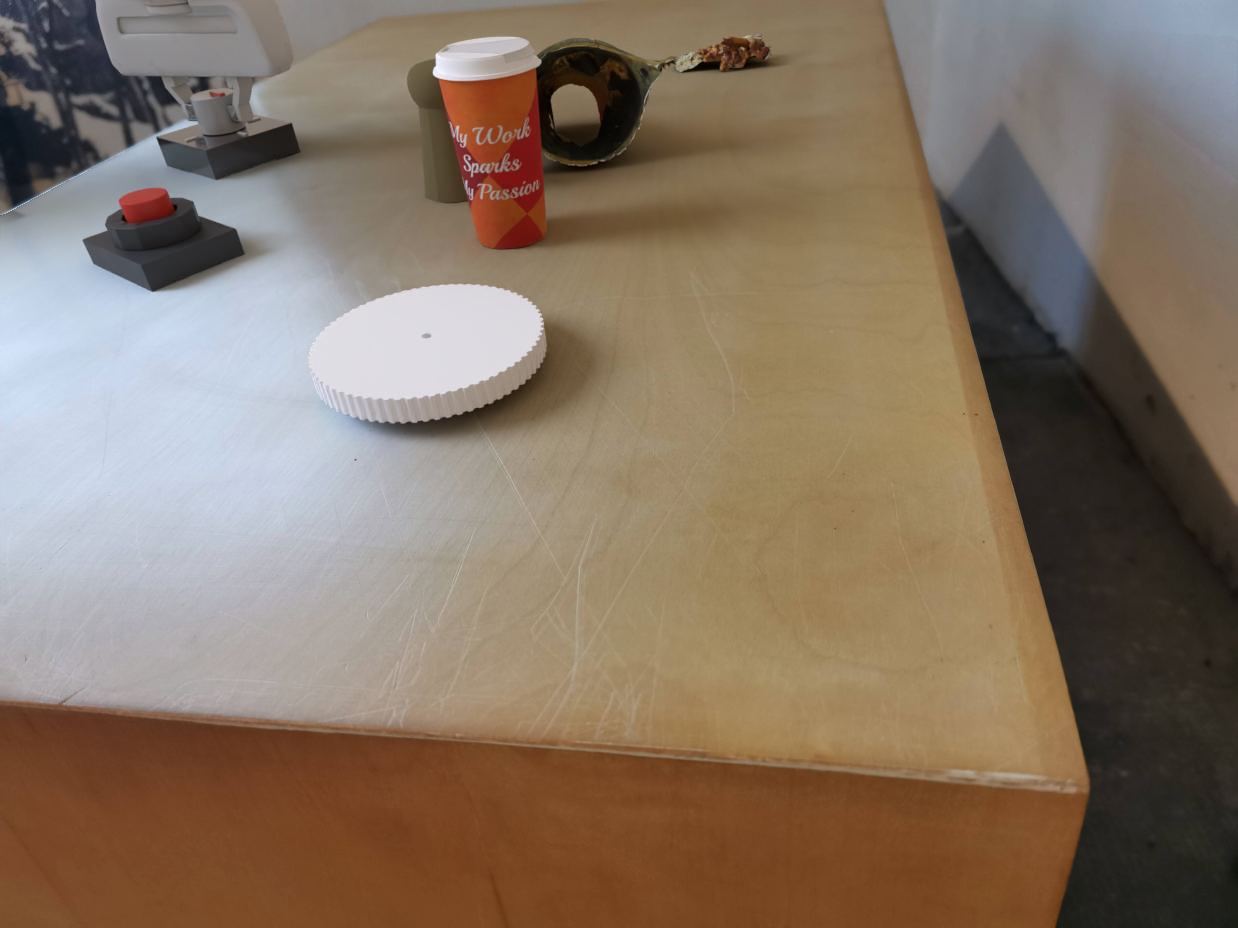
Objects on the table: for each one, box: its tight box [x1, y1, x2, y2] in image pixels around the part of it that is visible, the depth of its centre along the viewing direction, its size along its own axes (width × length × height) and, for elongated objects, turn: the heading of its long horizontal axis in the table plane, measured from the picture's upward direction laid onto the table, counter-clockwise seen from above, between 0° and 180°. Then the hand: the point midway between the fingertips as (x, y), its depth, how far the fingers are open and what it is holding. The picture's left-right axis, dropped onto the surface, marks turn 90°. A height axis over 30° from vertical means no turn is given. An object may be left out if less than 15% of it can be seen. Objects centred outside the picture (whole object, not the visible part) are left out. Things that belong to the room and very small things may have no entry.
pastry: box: [674, 34, 772, 73], centre depth 108 cm, size 7×12×4 cm, turn 98°
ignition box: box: [81, 197, 246, 293], centre depth 69 cm, size 10×8×4 cm
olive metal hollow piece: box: [536, 37, 679, 167], centre depth 84 cm, size 17×11×18 cm
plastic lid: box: [306, 283, 548, 424], centre depth 52 cm, size 14×14×2 cm
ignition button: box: [118, 187, 175, 223], centre depth 68 cm, size 4×4×2 cm
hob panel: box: [155, 113, 301, 181], centre depth 91 cm, size 10×10×3 cm
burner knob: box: [190, 87, 245, 135], centre depth 89 cm, size 4×4×4 cm
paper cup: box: [433, 36, 547, 250], centre depth 65 cm, size 8×8×14 cm
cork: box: [406, 58, 468, 204], centre depth 76 cm, size 6×6×11 cm
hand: (221, 120), depth 90 cm, fingers closed on burner knob, 4 cm apart
